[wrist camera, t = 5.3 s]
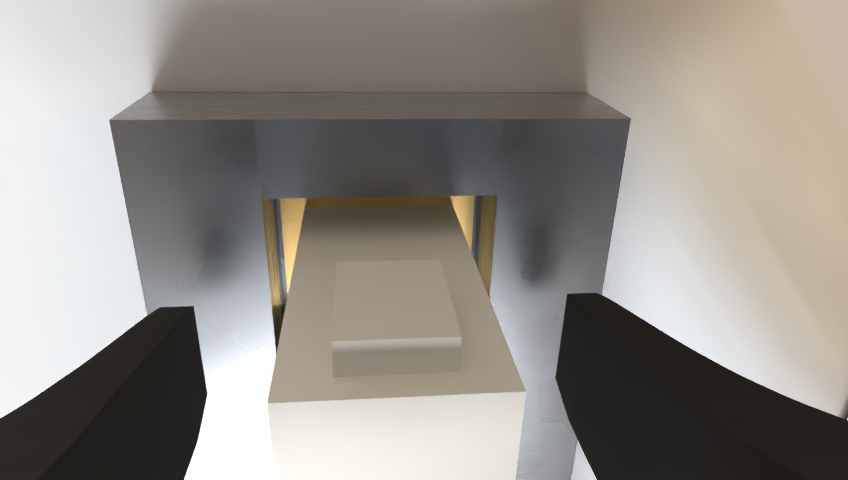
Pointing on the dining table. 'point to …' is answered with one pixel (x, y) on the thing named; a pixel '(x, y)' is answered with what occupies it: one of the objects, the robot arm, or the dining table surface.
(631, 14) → the dining table surface
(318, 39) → the dining table surface
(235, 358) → the grey slotted board
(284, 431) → the plug
